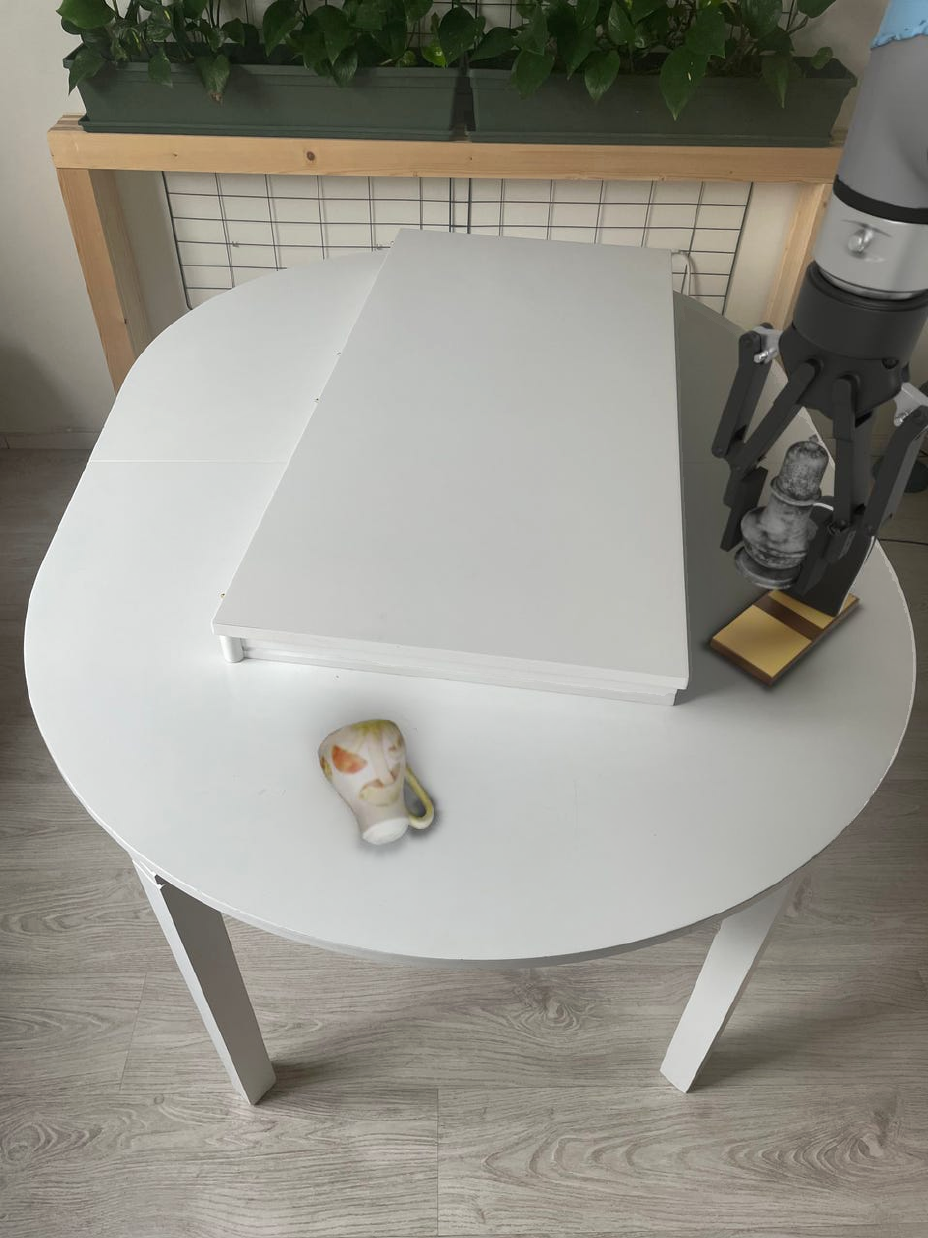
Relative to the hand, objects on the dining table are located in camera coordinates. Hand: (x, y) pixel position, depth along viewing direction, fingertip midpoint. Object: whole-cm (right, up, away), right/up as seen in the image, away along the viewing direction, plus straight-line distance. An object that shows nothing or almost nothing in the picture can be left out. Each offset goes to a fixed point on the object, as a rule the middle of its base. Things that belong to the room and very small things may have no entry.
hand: (769, 562), depth 71 cm
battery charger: (+12, -2, +24) cm, 27 cm away
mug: (-31, -20, +6) cm, 37 cm away
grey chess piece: (0, 0, 0) cm, 0 cm away
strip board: (+9, -5, +22) cm, 24 cm away
